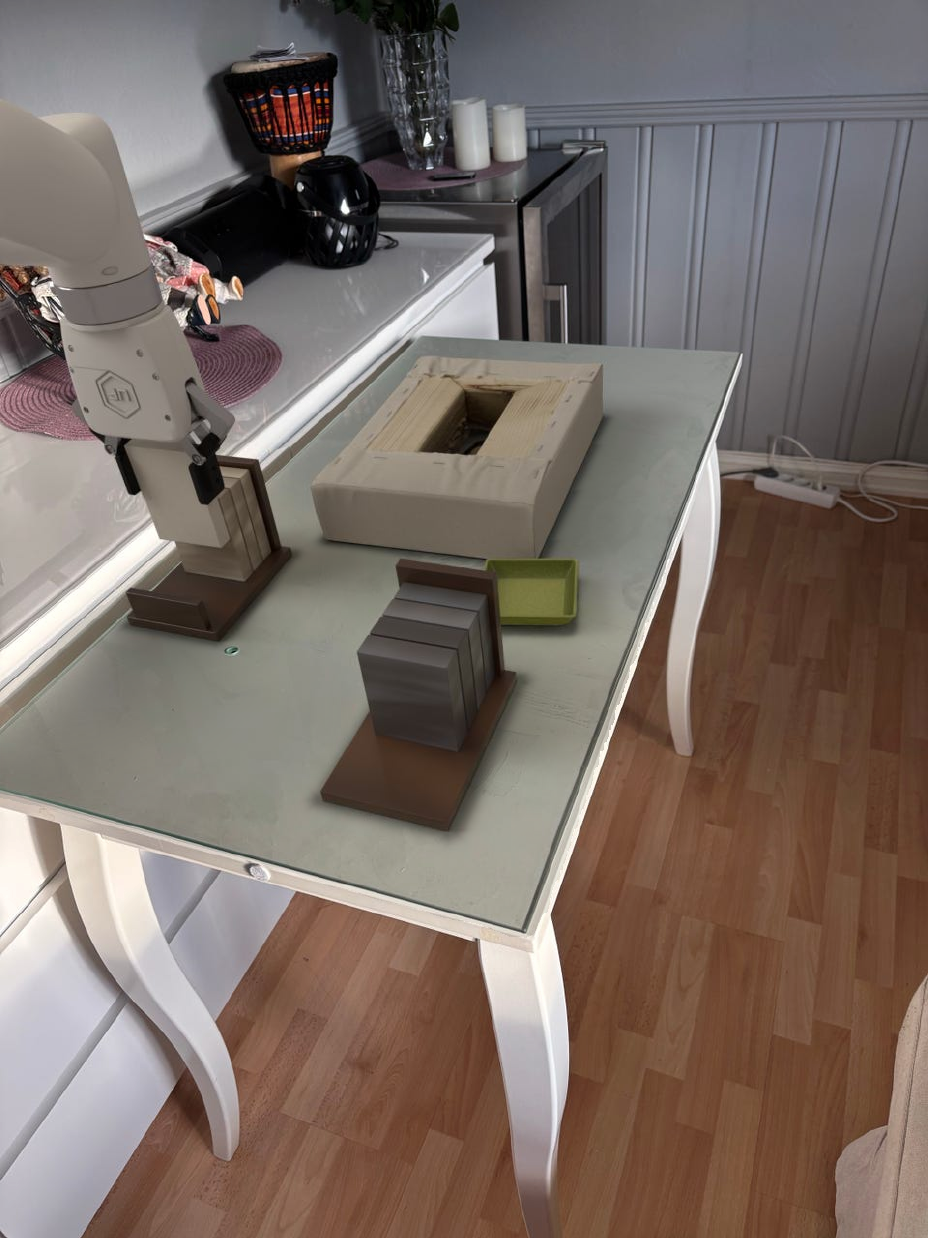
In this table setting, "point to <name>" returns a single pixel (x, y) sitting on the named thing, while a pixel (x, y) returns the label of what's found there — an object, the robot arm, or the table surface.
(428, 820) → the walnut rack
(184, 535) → the cream book
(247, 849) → the table surface
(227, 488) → the dark brown rack
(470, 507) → the box
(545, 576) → the green tray
